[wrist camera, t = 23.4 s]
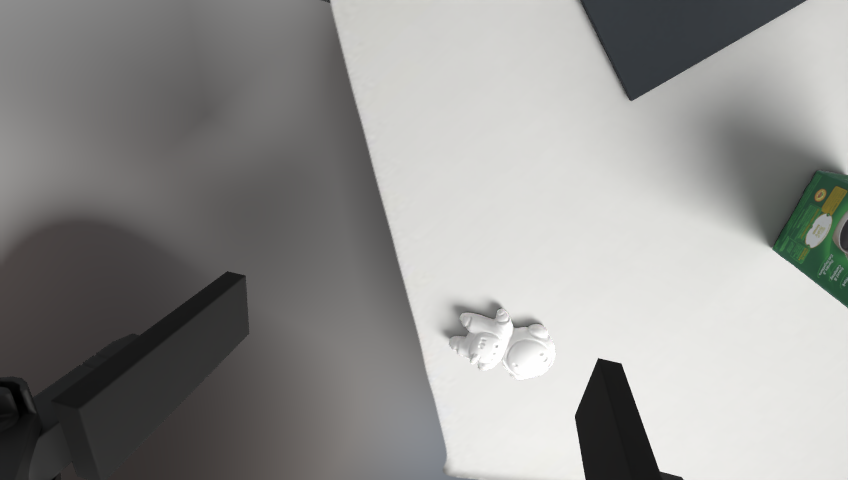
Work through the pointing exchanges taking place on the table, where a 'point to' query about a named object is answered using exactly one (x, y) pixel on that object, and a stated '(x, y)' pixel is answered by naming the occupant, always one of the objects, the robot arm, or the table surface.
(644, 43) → the mat
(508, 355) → the white lumpy flat piece
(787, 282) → the table surface
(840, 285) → the coffee box
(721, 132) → the table surface
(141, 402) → the robot arm
